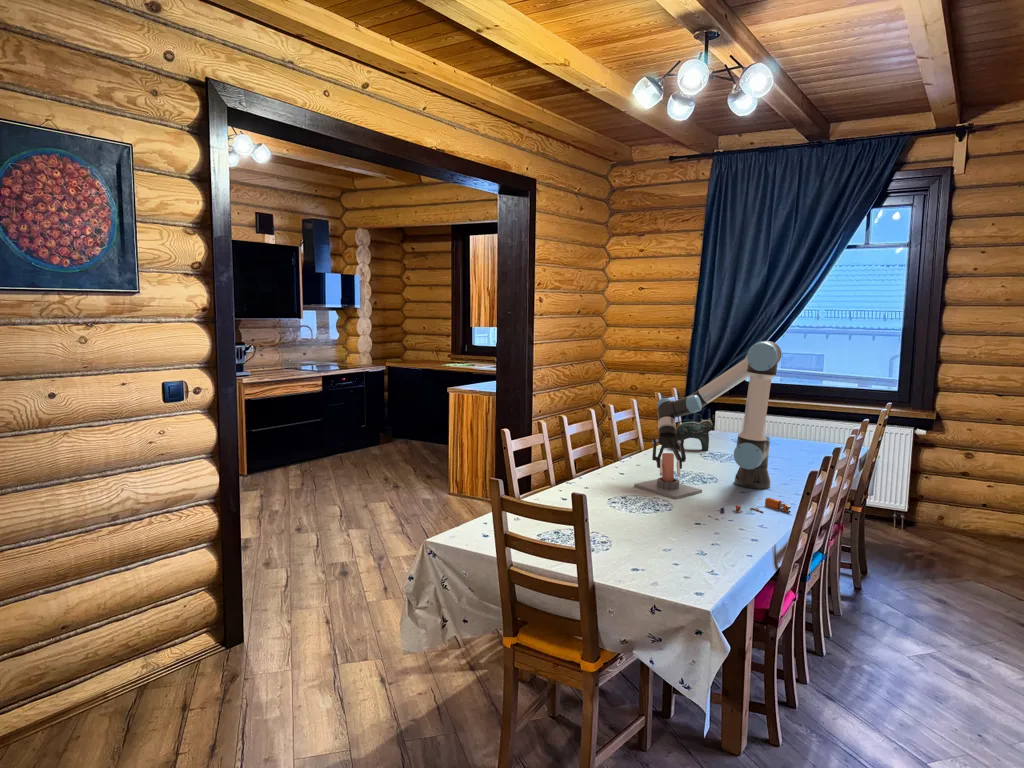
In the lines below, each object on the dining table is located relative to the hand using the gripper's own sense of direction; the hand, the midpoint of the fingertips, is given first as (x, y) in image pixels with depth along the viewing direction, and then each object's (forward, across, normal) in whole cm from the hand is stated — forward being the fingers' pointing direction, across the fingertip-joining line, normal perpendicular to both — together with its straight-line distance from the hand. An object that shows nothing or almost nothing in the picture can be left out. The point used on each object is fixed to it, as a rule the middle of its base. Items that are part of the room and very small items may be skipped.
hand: (670, 474), depth 284 cm
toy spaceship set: (+24, -27, +12) cm, 38 cm away
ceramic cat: (-59, -26, -70) cm, 95 cm away
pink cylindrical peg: (+2, 0, -7) cm, 7 cm away
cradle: (+3, 0, -8) cm, 8 cm away
